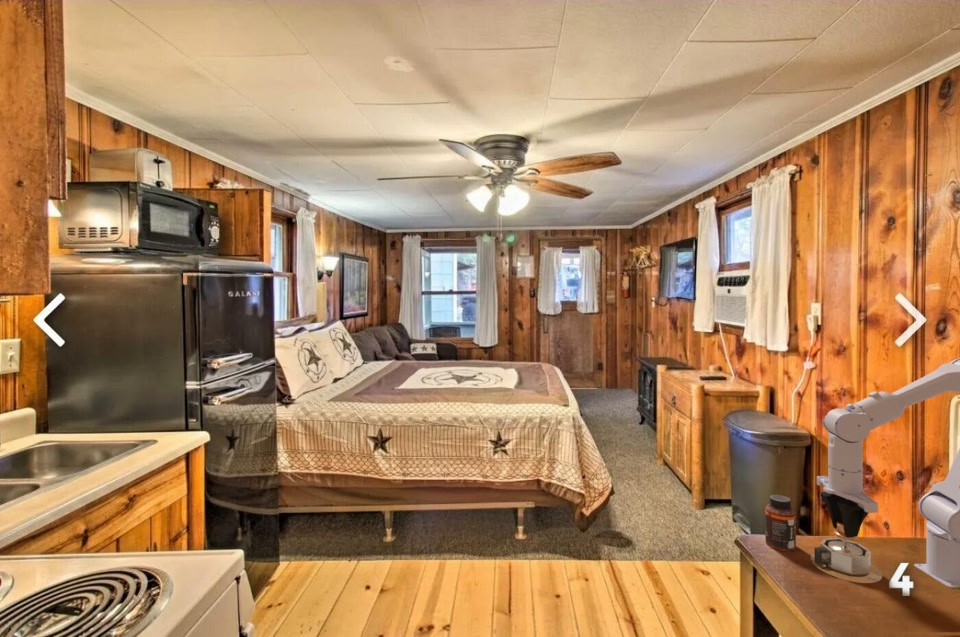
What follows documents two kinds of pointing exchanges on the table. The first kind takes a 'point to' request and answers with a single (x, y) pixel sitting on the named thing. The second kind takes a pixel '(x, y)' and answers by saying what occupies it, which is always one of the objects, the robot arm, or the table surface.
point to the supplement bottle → (780, 524)
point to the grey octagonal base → (845, 563)
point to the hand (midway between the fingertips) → (845, 531)
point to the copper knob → (844, 543)
